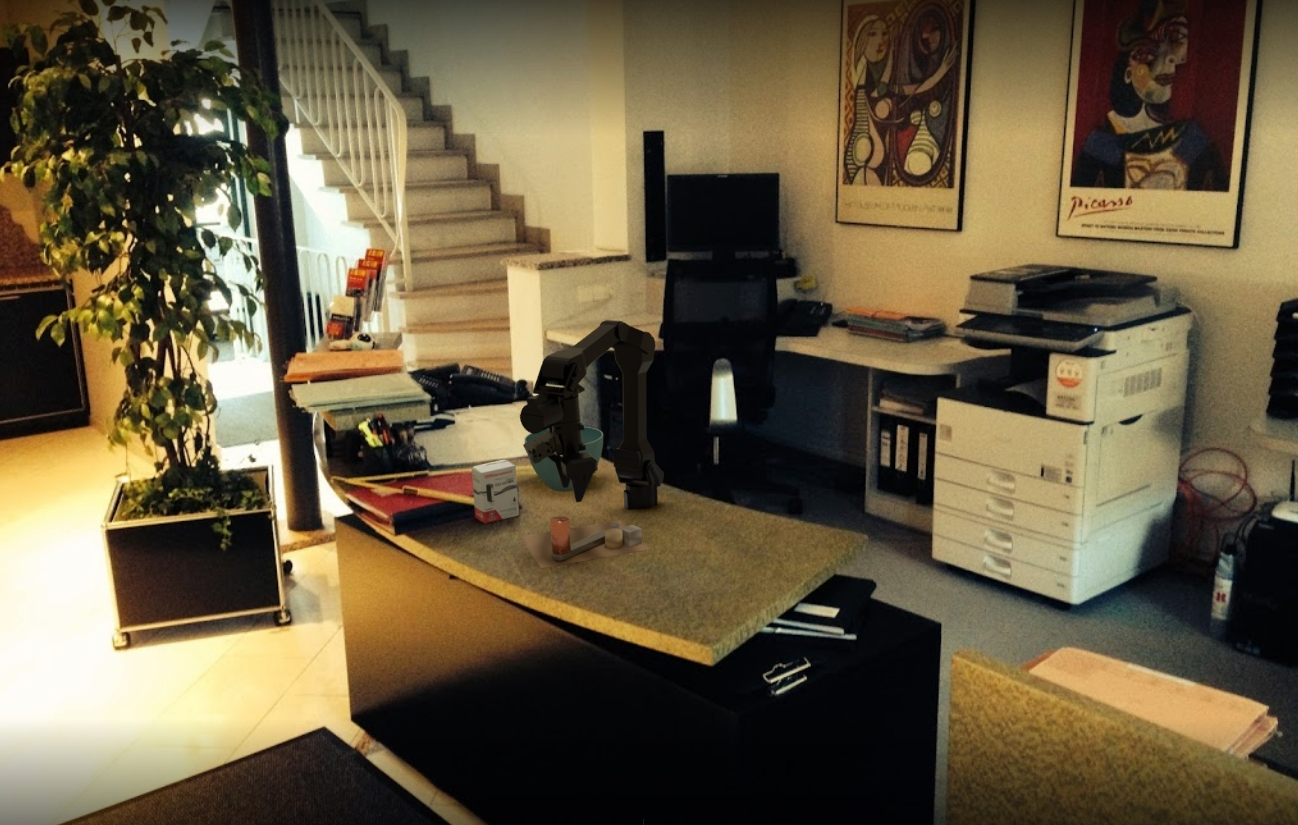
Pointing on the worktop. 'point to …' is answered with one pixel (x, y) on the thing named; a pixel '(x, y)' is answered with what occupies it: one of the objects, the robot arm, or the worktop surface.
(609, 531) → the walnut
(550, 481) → the teal bowl
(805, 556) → the worktop surface
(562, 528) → the lever
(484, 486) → the ink box
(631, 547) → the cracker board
